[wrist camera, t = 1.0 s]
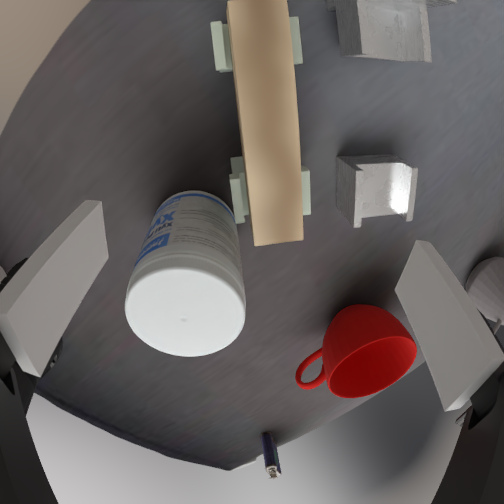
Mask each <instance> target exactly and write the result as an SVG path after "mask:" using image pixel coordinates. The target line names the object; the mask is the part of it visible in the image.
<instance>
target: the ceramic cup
mask: <svg viewBox="0 0 504 504" xmlns="http://www.w3.org/2000/svg"><path fill="white" fill-rule="evenodd" d="M416 353H417V348H416V344H415V342H414V340H413V338H412V337H411V335H410V334H409V332H408V331H407V330H406V328H405V327H404V326H403V325H402V324H401V322H400V321H399V320H398V319H396V318H395V317H394V316H393V315H392V314H391V313H389V312H388V311H386V310H384V309H382V308H379V307H377V306H372V305H362V304H356V305H351V306H348V307H346V308H344V309H342V310H341V311H340V312H339V313H337V314H336V316H335V317H334V318H333V320H332V322H331V323H330V325H329V327H328V328H327V331H326V333H325V336H324V340H323V346H322V348H320V349H319V350H317V351H316V352H314V353H313V354H311V355H310V356H309V357H307V358H306V359H305V360H304V361H303V362H302V363H301V364H300V365H299V367H298V369H297V371H296V376H295V379H296V382H297V384H298V386H299V387H301V388H303V389H312V388H315V387H317V386H319V385H320V384H321V383H323V382H324V381H325V380H326V381H327V384H328V387H329V389H330V391H331V392H332V393H333V394H335V395H337V396H339V397H343V398H358V397H363V396H367V395H370V394H373V393H376V392H378V391H380V390H383V389H385V388H386V387H388V386H390V385H391V384H393V383H394V382H396V381H397V380H398V379H399V378H400V377H402V376H403V375H404V374H405V373H406V372H407V370H408V369H409V368H410V367H411V365H412V364H413V362H414V359H415V357H416ZM321 356H322V360H323V365H322V370H321V373H320V374H319V376H318V377H317V378H316V379H315V380H313V381H311V382H309V383H303V382H302V381H301V375H302V373H303V371H304V370H305V368H306V367H307V366H308V365H309V364H311V363H312V362H313V361H314V360H316V359H317V358H319V357H321Z"/></svg>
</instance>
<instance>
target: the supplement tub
mask: <svg viewBox="0 0 504 504" xmlns="http://www.w3.org/2000/svg"><path fill="white" fill-rule="evenodd" d="M245 308H246V299H245V290H244V281H243V274H242V266H241V258H240V249H239V241H238V233H237V226H236V223H235V217H234V215H233V213H232V211H231V210H230V208H229V207H228V206H227V205H226V204H225V203H224V202H223V201H222V200H221V199H219V198H218V197H216V196H214V195H212V194H210V193H207V192H203V191H185V192H181V193H178V194H175V195H173V196H171V197H170V198H168V199H167V200H166V201H164V202H163V203H162V205H161V206H160V207H159V208H158V210H157V211H156V213H155V216H154V218H153V220H152V223H151V225H150V228H149V230H148V233H147V235H146V238H145V240H144V243H143V246H142V248H141V251H140V253H139V256H138V259H137V261H136V264H135V267H134V269H133V272H132V275H131V278H130V281H129V285H128V288H127V296H126V300H125V314H126V318H127V320H128V323H129V325H130V326H131V328H132V330H133V331H134V332H135V334H136V335H137V336H138V337H139V338H140V339H142V340H143V341H144V342H145V343H147V344H148V345H150V346H151V347H153V348H155V349H157V350H160V351H162V352H165V353H169V354H172V355H178V356H202V355H207V354H210V353H214V352H216V351H219V350H221V349H223V348H224V347H226V346H228V345H229V344H230V343H231V342H233V341H234V340H235V339H236V338H237V336H238V335H239V333H240V332H241V330H242V328H243V325H244V322H245Z"/></svg>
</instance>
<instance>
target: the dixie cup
mask: <svg viewBox="0 0 504 504" xmlns="http://www.w3.org/2000/svg"><path fill="white" fill-rule="evenodd" d="M4 277H7V275H6V273H5V271H4V270H3V268H2V267H1V266H0V284H1V281H2V280H3V279H4Z"/></svg>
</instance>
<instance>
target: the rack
mask: <svg viewBox="0 0 504 504" xmlns="http://www.w3.org/2000/svg"><path fill="white" fill-rule="evenodd" d="M289 22H290V31H291V40H292V50H293V60H294V64H302V63H303V59H302V48H301V38H300V29H299V20H298V17H289ZM210 23H211V32H212V40H213V49H214V57H215V66H216V71H218V70H220V73H223V72H232V71H233V68H232V59H231V50H230V41H229V32H228V24H222V23H221V21H216V22H210ZM230 159H231V167H232V174H229V177H230V185H231V193H232V201H233V208H234V216H235V223H236V224H238V223H245V219H244V215H249V210H248V201H247V192H246V183H245V174H244V165H243V156H240V157H232V158H230ZM301 180H302V207H303V215H309V214H311V208H310V171H309V170H308V169H307V168H306V167H305V166H301Z"/></svg>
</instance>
